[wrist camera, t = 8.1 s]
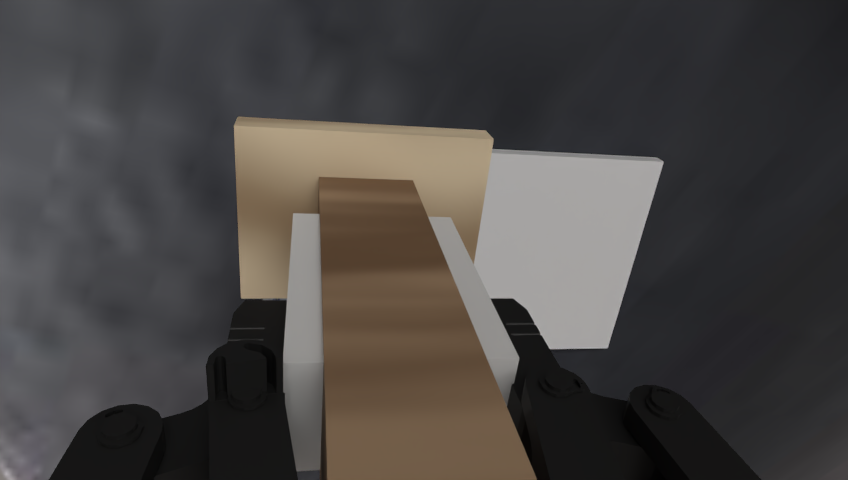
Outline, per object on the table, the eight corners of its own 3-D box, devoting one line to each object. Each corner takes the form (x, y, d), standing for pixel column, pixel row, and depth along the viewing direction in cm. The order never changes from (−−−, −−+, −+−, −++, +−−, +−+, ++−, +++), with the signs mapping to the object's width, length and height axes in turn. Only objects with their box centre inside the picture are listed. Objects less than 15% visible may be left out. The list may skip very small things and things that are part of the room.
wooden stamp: (237, 116, 18) (113, 416, 7) (485, 130, 20) (721, 392, 8) (244, 283, 21) (161, 699, 9) (462, 284, 22) (618, 642, 11)
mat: (469, 147, 34) (472, 152, 33) (656, 157, 36) (663, 161, 36) (441, 343, 40) (443, 350, 40) (602, 341, 43) (607, 348, 42)
